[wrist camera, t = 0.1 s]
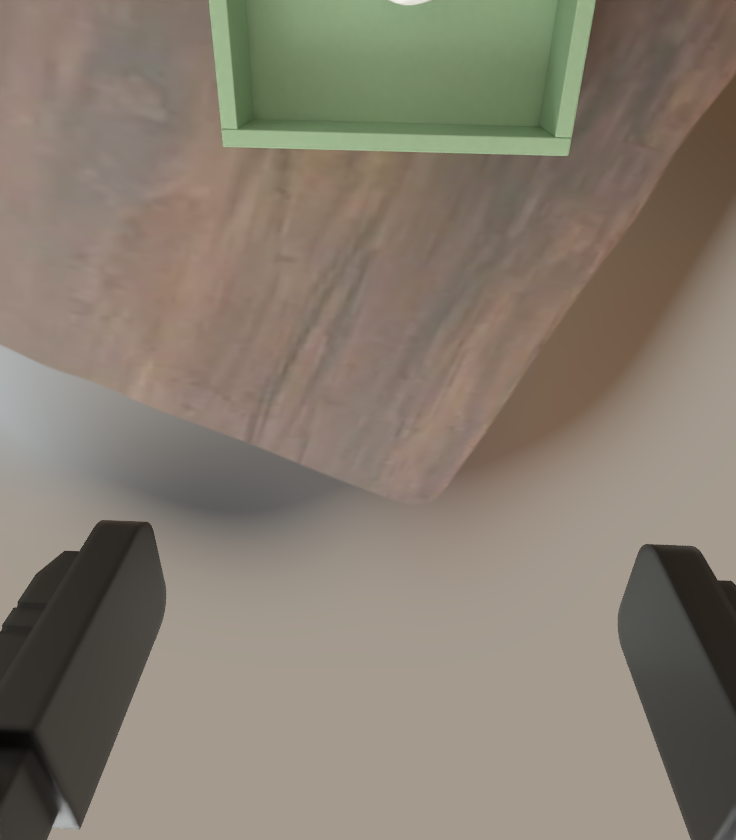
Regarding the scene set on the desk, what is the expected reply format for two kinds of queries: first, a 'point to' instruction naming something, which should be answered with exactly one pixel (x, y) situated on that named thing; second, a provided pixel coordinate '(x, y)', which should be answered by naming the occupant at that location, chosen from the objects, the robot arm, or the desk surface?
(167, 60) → the desk surface
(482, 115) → the tote
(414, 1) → the milkshake
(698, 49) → the desk surface
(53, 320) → the desk surface
